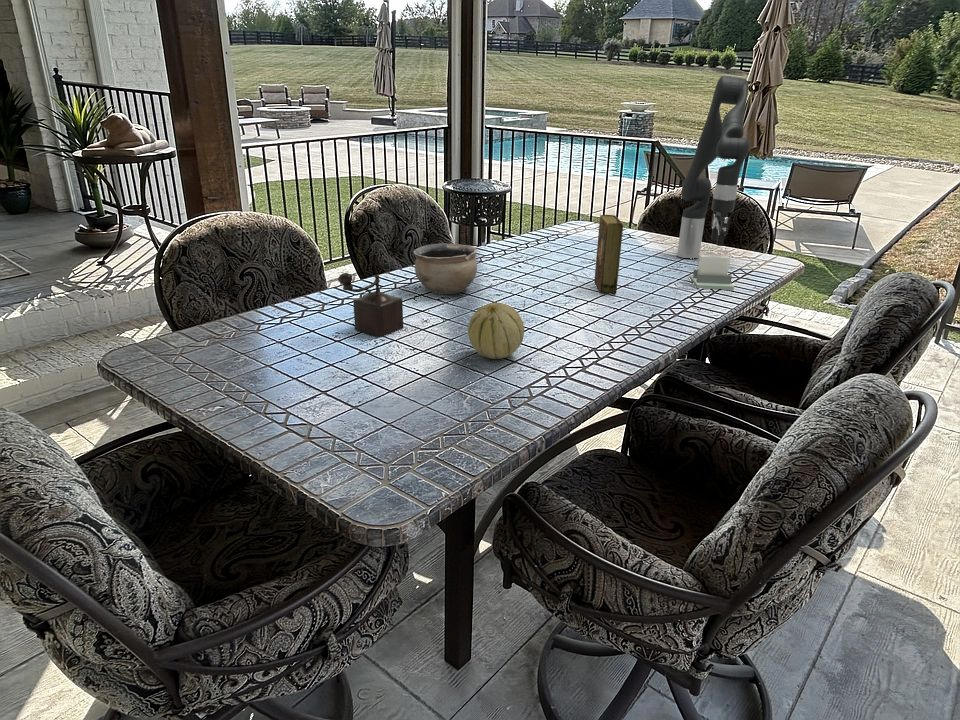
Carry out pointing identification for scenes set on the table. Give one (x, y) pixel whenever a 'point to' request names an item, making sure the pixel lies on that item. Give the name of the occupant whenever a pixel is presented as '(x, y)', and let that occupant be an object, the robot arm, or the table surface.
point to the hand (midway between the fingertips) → (716, 242)
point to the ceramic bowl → (445, 267)
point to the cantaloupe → (496, 330)
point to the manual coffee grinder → (375, 309)
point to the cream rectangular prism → (713, 265)
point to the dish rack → (711, 281)
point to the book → (608, 254)
